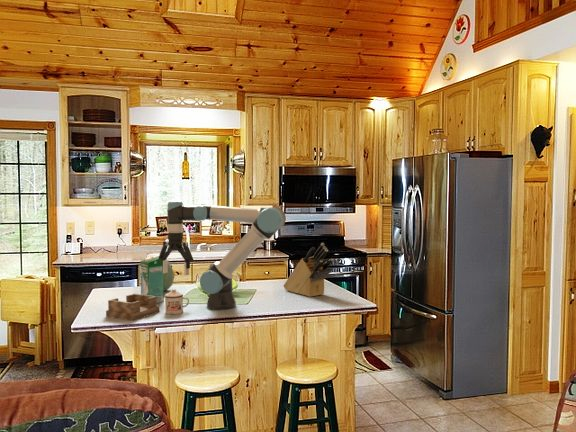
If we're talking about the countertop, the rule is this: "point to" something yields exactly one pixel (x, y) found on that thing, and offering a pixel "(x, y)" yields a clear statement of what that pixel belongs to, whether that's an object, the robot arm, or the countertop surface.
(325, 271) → the knife block
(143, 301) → the walnut cup stand
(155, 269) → the milk carton
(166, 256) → the robot arm
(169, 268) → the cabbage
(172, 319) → the countertop surface
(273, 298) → the countertop surface
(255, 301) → the countertop surface
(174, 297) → the teacup with lid
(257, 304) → the countertop surface
